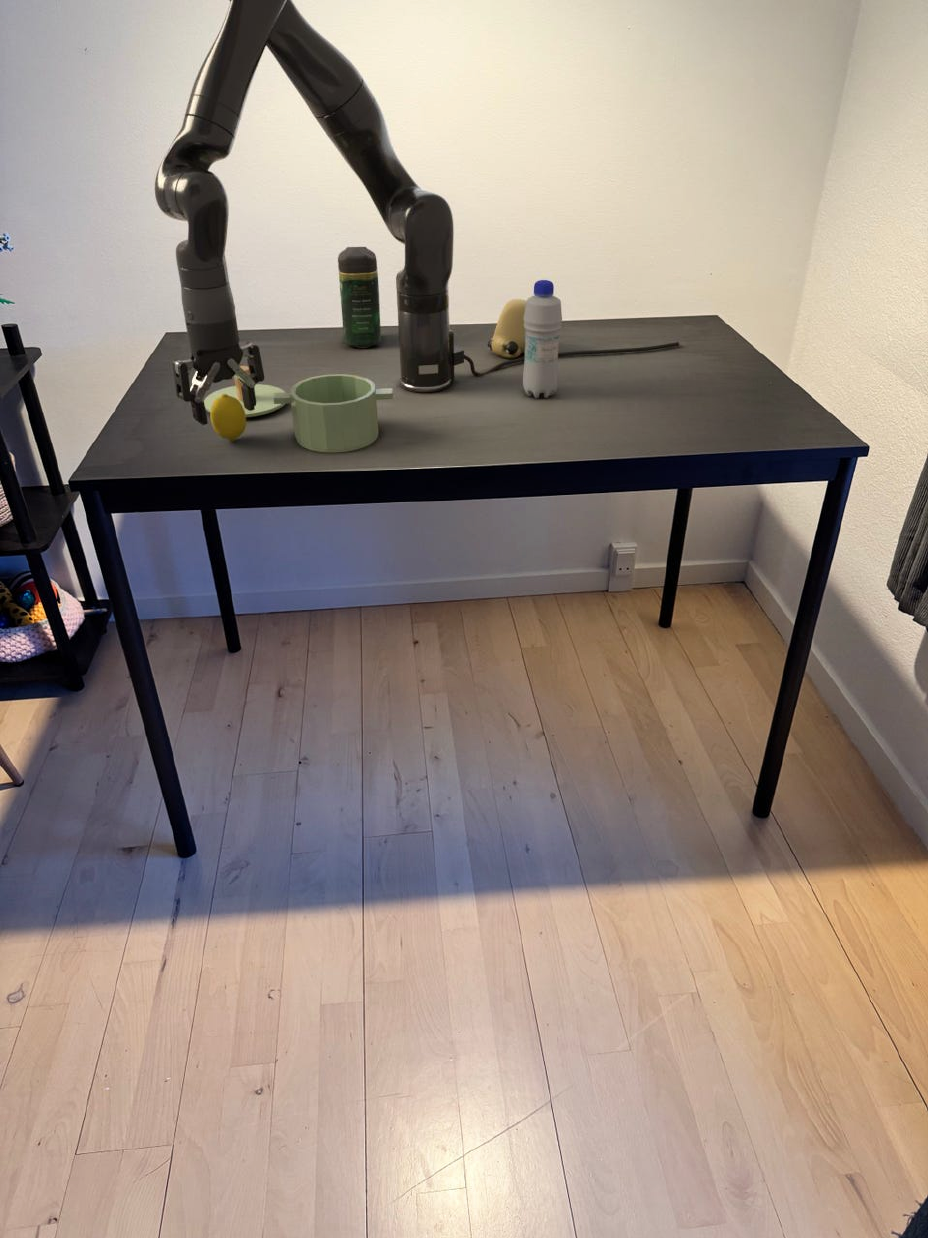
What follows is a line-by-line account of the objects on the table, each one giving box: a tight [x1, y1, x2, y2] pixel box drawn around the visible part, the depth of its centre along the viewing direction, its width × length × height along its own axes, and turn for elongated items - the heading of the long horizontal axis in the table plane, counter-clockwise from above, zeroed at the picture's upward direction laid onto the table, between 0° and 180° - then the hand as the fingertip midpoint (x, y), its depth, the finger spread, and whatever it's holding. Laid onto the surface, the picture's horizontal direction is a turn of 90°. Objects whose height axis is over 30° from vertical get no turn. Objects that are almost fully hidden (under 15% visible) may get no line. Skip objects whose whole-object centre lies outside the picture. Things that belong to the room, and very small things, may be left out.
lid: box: [203, 365, 286, 418], centre depth 157 cm, size 15×15×7 cm
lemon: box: [209, 394, 247, 442], centre depth 143 cm, size 6×6×8 cm
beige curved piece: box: [487, 298, 527, 359], centre depth 178 cm, size 10×12×11 cm
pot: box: [274, 373, 394, 454], centre depth 145 cm, size 14×19×8 cm
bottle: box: [522, 279, 563, 399], centre depth 156 cm, size 7×7×20 cm
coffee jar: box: [337, 246, 382, 349], centre depth 182 cm, size 10×8×19 cm
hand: (226, 416), depth 143 cm, fingers open, 8 cm apart
